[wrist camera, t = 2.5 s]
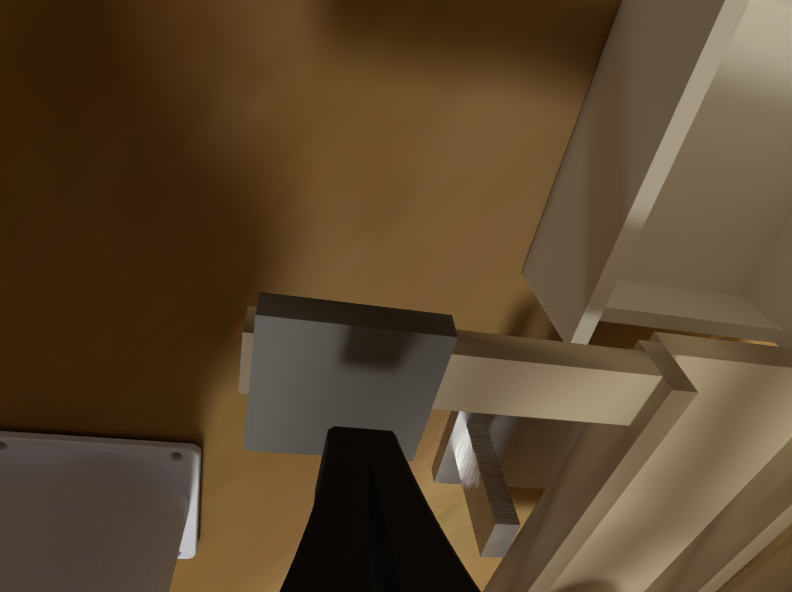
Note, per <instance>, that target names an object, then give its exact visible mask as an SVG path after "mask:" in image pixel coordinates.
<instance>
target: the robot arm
mask: <svg viewBox="0 0 792 592" xmlns="http://www.w3.org/2000/svg"><path fill="white" fill-rule="evenodd" d="M2 442H4V443H2ZM175 452H177V453H180V454H176V453H175ZM200 475H201V449H200V448H199V447H198V446H197V445H195V444H191V443H176V442H161V441H145V440H130V439H115V438H99V437H84V436H69V435H53V434H38V433H23V432H7V431H0V592H169V589H170V585H171V582H172V578H173V574H174V570H175V566H176V562H177V559H189V558H192V557H194V556H195V555H196V552H197V548H198V524H199V499H200ZM280 592H481V591H480V590H479V588H478V587H477V585H476V584H475V582H474V581H473V579H472V578H471V576H470V575H469V573H468V572H467V570H466V569H465V567H464V565H463V564H462V562H461V561H460V559H459V557H458V556H457V554H456V552H455V551H454V549H453V547H452V546H451V544H450V543H449V541H448V539H447V537H446V536H445V534H444V532H443V530H442V529H441V527H440V525H439V523H438V521H437V520H436V518H435V516H434V514H433V512H432V510H431V508H430V507H429V505H428V503H427V501H426V499H425V497H424V495H423V493H422V491H421V489H420V487H419V485H418V483H417V481H416V479H415V477H414V475H413V473H412V471H411V469H410V466H409V464H408V462H407V460H406V458H405V455H404V453H403V451H402V449H401V446H400V444H399V441H398V439H397V436H396V435H395V433H394V432H393V431H389V430H376V429H364V428H352V427H340V426H333V427H332V428H330V429H328V431H327V436H326V441H325V445H324V450H323V455H322V460H321V465H320V469H319V474H318V479H317V484H316V488H315V500H314V506H313V509H312V512H311V515H310V518H309V521H308V523H307V526H306V529H305V531H304V534H303V537H302V539H301V542H300V544H299V547H298V550H297V552H296V555H295V557H294V560H293V562H292V564H291V567H290V569H289V571H288V574H287V576H286V578H285V581H284V583H283V585H282V587H281V590H280Z"/></svg>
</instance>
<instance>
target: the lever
mask: <svg viewBox="0 0 792 592" xmlns="http://www.w3.org/2000/svg"><path fill="white" fill-rule="evenodd" d="M238 393H246V394H248V405H247V417H246V428H245V440H244V450H248V451H263V452H279V453H294V454H310V455H323V450H324V445H325V441H326V436H327V431H328V429H330V428H332V427H333V426H340V427H352V428H364V429H376V430H389V431H393V432H394V433H395V435H396V436H397V439H398V441H399V444H400V446H401V449H402V451H403V453H404V455H405V458H406V460H407V461H413V458H414V455H415V453H416V450H417V447H418V444H419V442H420V439H421V436H422V434H423V431H424V428H425V425H426V423H427V420H428V417H429V415H430V412H431V409H437V410H449V411H461V412H473V413H485V414H497V415H509V416H521V417H533V418H544V419H556V420H568V421H580V422H587V424H586V425H585V427H584V428H583V430H582V432H581V433H580V435H579V437H578V438H577V440H576V441H575V443H574V445H573V446H572V448H571V449H570V451H569V453H568V454H567V456H566V458H565V459H564V461H563V462H562V464H561V466H560V467H559V469H558V470H557V472H556V474H555V475H554V477H553V479H552V480H551V482H550V483H549V485H548V487H547V488H546V490H545V492H544V493H543V495H542V496H541V498H540V500H539V501H538V503H537V504H536V506H535V508H534V509H533V511H532V513H531V514H530V516H529V517H528V519H527V521H526V522H525V524H524V525H523V527H522V529H521V530H520V532H519V534H518V535H517V537H516V538H515V540H514V542H513V543H512V545H511V546H510V548H509V550H508V551H507V553H506V555H505V557H504V558H503V559H502V561H501V563H500V564H499V566H498V567H497V569H496V571H495V572H494V574H493V576H492V577H491V579H490V580H489V582H488V584H487V585H486V587H485V588H484V590H483V592H716V591H717V590H718V589H719V588H720V587H721V586H722V585H724V584H725V583H726V582H727V581H728V580H729V579H730V578H731V577H732V576H734V575H735V574H736V573H737V572H738V571H739V570H740V569H741V568H742V567H744V566H745V565H746V564H747V563H748V562H749V561H750V560H751V559H752V558H754V557H755V556H756V555H757V554H758V553H759V552H760V551H761V550H763V549H764V548H765V547H766V546H767V545H768V544H769V543H770V542H771V541H773V540H774V539H775V538H776V537H777V536H778V535H779V534H780V533H781V532H783V531H784V530H785V529H786V528H787V527H788V526H789V525H790V524H791V523H792V348H784V347H776V346H767V345H759V344H751V343H743V342H735V341H727V340H719V339H710V338H702V337H694V336H686V335H678V334H670V333H662V332H654V333H653V335H652V337H651V338H650V340H649V341H645V340H638V341H637V343H636V344H635V346H634V348H633V349H632V350H630V349H621V348H612V347H604V346H595V345H586V344H577V343H569V342H560V341H551V340H543V339H534V338H525V337H516V336H508V335H499V334H490V333H481V332H473V331H464V330H456V329H455V325H454V321H453V318H452V315H447V314H438V313H430V312H422V311H413V310H405V309H397V308H388V307H380V306H371V305H363V304H355V303H346V302H338V301H330V300H321V299H313V298H305V297H296V296H288V295H280V294H271V293H263V292H260V293H259V298H258V303H257V307H254V306H248V309H247V314H246V318H245V323H244V328H243V333H242V347H241V361H240V375H239V390H238Z"/></svg>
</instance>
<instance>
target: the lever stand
mask: <svg viewBox="0 0 792 592" xmlns="http://www.w3.org/2000/svg"><path fill="white" fill-rule="evenodd" d="M586 424H587V422H580V421H568V420H556V419H544V418H533V417H521V416H509V415H497V414H485V413H473V412H461V411H452V412H451V414H450V417H449V420H448V423H447V426H446V429H445V432H444V435H443V438H442V441H441V443H440V446H439V449H438V452H437V455H436V458H435V461H434V464H433V467H432V475H433V480H434V483H450V484H462V486H463V490H464V494H465V498H466V502H467V506H468V510H469V514H470V518H471V521H472V525H473V529H474V533H475V537H476V541H477V545H478V549H479V553H480V557H505V555H506V553H507V551H508V549H509V547H510V545H511V543H512V541H513V539H514V537H515V535H516V533H517V531H518V529H519V527H520V522H519V519H518V516H517V513H516V510H515V508H514V505H513V502H512V499H511V496H510V493H509V490H508V487H521V488H538V489H546V488H547V487H548V485H549V483H550V482H551V480H552V479H553V477H554V475H555V474H556V472H557V470H558V469H559V467H560V466H561V464H562V462H563V461H564V459H565V458H566V456H567V454H568V453H569V451H570V449H571V448H572V446H573V445H574V443H575V441H576V440H577V438H578V437H579V435H580V433H581V432H582V430H583V428H584V427H585V425H586Z"/></svg>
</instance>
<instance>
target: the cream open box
mask: <svg viewBox="0 0 792 592" xmlns="http://www.w3.org/2000/svg"><path fill="white" fill-rule="evenodd" d="M522 275H523V277H524V278H525V280H526V281H527V283H528V285H529V286H530V288H531V290H532V291H533V293H534V294H535V296H536V298H537V299H538V301H539V303H540V304H541V306H542V307H543V309H544V311H545V312H546V314H547V316H548V317H549V319H550V321H551V322H552V324H553V325H554V327H555V329H556V330H557V332H558V334H559V335H560V337H561V338H562V340H563V342H569V343H577V344H586V345H588V342H589V340H590V338H591V336H592V334H593V332H594V330H595V328H596V325H597V323H598V321H604V322H612V323H620V324H628V325H636V326H644V327H652V328H660V329H668V330H676V331H684V332H692V333H700V334H708V335H716V336H724V337H732V338H740V339H748V340H757V341H765V342H773V343H776V344H777V345H778V346H779V347H784V348H792V0H621V3H620V6H619V9H618V11H617V14H616V17H615V20H614V22H613V25H612V28H611V30H610V33H609V36H608V39H607V41H606V44H605V47H604V49H603V52H602V55H601V58H600V60H599V63H598V66H597V68H596V71H595V74H594V77H593V79H592V82H591V85H590V88H589V90H588V93H587V96H586V98H585V101H584V104H583V107H582V109H581V112H580V115H579V117H578V120H577V123H576V126H575V128H574V131H573V134H572V137H571V139H570V142H569V145H568V147H567V150H566V153H565V156H564V158H563V161H562V164H561V166H560V169H559V172H558V175H557V177H556V180H555V183H554V185H553V188H552V191H551V194H550V196H549V199H548V202H547V205H546V207H545V210H544V213H543V215H542V218H541V221H540V224H539V226H538V229H537V232H536V234H535V237H534V240H533V243H532V245H531V248H530V251H529V253H528V256H527V259H526V262H525V264H524V267H523V270H522Z"/></svg>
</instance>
